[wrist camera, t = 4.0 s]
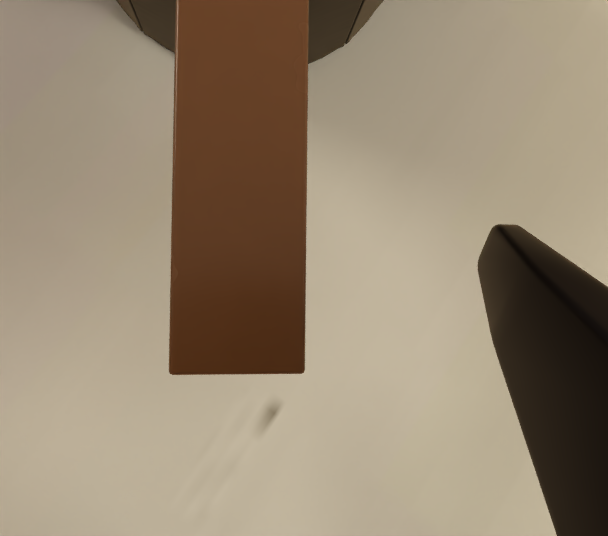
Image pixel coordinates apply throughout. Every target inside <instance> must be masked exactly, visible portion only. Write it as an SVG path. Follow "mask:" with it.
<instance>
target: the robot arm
mask: <svg viewBox="0 0 608 536" xmlns="http://www.w3.org/2000/svg"><path fill="white" fill-rule="evenodd" d="M478 273H479V278H480V283H481V288H482V293H483V298H484V303H485V308H486V312H487V317H488V322H489V327H490V332H491V336H492V340H493V344H494V347H495V350H496V353H497V357H498V360H499V363H500V366H501V369H502V372H503V375H504V378H505V381H506V384H507V387H508V390H509V393H510V396H511V399H512V402H513V405H514V408H515V411H516V414H517V417H518V420H519V423H520V426H521V429H522V432H523V435H524V438H525V441H526V444H527V447H528V450H529V453H530V456H531V459H532V462H533V465H534V468H535V471H536V474H537V477H538V480H539V483H540V486H541V489H542V492H543V495H544V498H545V501H546V504H547V507H548V510H549V513H550V516H551V519H552V522H553V525H554V528H555V531H556V534H557V536H608V287H607V286H606V285H604V284H603V283H601V282H600V281H598V280H597V279H595V278H594V277H592V276H591V275H590V274H588V273H587V272H585V271H584V270H582V269H581V268H579V267H578V266H577V265H575V264H574V263H572V262H571V261H569V260H568V259H566V258H565V257H563V256H562V255H561V254H559V253H558V252H556V251H555V250H553V249H552V248H550V247H549V246H548V245H546V244H545V243H543V242H542V241H540V240H539V239H537V238H536V237H535V236H533V235H532V234H530V233H529V232H527V231H526V230H524V229H523V228H521V227H520V226H518V225H503V224H498V225H495V226H494V227H493V228H492V229H491V231H490V233H489V235H488V238H487V240H486V242H485V245H484V247H483V249H482V252H481V254H480V257H479V260H478Z"/></svg>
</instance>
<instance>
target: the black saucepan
mask: <svg viewBox="0 0 608 536" xmlns="http://www.w3.org/2000/svg"><path fill="white" fill-rule="evenodd" d="M383 1H384V0H117V2H118V3H119V5H120V6H121V7H122V8H123V10H124V11H125V12H126V13H127V14H128V16H129V17H130V18H131V19H132V20H133V21H134V22H135V24H136V25H137V26H138V28H139V29H140V30H141V31H144V33H145V34H146V35H148V36H150V37H151V38H153V39H154V40H156V41H157V42H159V43H160V44H161V45H163V46H164V47H166V48H167V49H169V50H171V51H173V52H175V71H174V125H173V178H172V232H171V285H170V339H169V372H170V374H172V375H212V374H302V373H304V371H305V299H306V205H307V111H308V64H309V63H311V62H313V61H316V60H318V59H320V58H323V57H324V56H326V55H328V54H329V53H331V52H333V51H334V50H336V49H338V48H340V47H343V46H344V44H347V43H348V42H349V41H350V40H351V38H352V37H353V36H354V35H355V34H356V33H357V32H358V31H359V30H360V29H361V28H362V27H363V26H364V25H365V23H366V22H367V21H368V20H369V18H370V17H371V16H372V14H373V13H374V11H375V10H376V9H377V8H378V6H379V5H380V4H381V3H382V2H383Z"/></svg>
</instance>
